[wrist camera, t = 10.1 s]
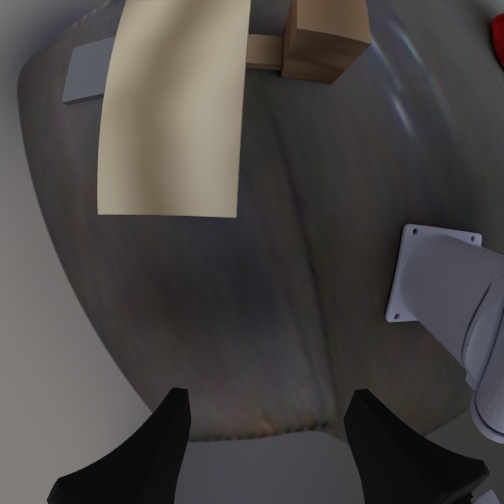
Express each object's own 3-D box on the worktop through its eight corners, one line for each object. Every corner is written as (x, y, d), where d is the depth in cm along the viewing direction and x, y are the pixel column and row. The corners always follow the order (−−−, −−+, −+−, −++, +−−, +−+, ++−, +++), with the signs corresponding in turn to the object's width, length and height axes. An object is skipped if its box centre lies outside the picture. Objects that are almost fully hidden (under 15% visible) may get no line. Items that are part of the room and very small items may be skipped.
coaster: (133, 40, 15) (126, 33, 13) (122, 96, 16) (114, 91, 15) (82, 53, 15) (73, 48, 13) (71, 105, 16) (61, 102, 15)
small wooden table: (252, 3, 14) (253, -28, 10) (238, 208, 18) (236, 217, 14) (149, 10, 13) (131, -15, 10) (125, 206, 18) (97, 214, 14)
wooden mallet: (330, 44, 15) (364, -5, 8) (331, 84, 16) (371, 43, 9) (129, 43, 14) (86, 2, 8) (122, 82, 15) (70, 50, 9)
